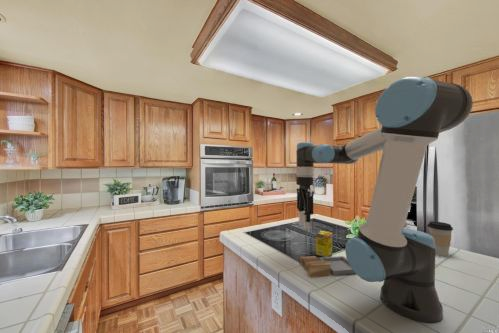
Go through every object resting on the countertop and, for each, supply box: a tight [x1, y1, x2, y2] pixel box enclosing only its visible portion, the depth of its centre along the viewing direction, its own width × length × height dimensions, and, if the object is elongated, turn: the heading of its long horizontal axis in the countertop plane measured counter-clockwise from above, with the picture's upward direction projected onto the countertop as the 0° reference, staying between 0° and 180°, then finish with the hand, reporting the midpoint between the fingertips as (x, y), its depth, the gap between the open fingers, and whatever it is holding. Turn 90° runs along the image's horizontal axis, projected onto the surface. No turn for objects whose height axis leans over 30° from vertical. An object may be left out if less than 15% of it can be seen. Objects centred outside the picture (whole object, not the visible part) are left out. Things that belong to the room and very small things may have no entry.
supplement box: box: [315, 230, 333, 258], centre depth 100 cm, size 6×6×11 cm
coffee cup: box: [427, 221, 454, 257], centre depth 103 cm, size 9×9×15 cm
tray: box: [318, 255, 357, 277], centre depth 88 cm, size 12×12×2 cm
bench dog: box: [307, 261, 331, 278], centre depth 82 cm, size 3×8×4 cm, turn 99°
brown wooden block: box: [299, 255, 320, 272], centre depth 89 cm, size 8×7×3 cm
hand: (304, 226), depth 96 cm, fingers open, 5 cm apart
